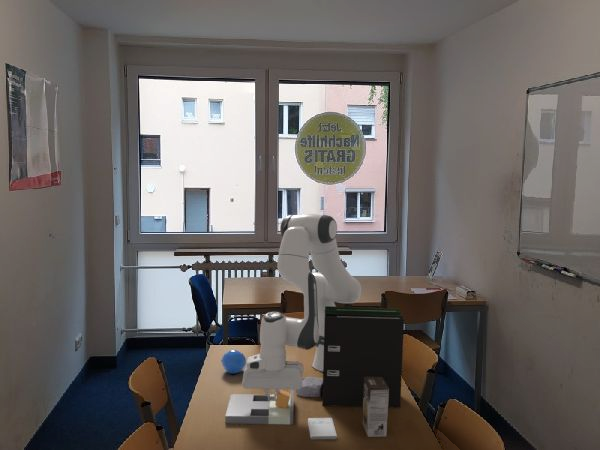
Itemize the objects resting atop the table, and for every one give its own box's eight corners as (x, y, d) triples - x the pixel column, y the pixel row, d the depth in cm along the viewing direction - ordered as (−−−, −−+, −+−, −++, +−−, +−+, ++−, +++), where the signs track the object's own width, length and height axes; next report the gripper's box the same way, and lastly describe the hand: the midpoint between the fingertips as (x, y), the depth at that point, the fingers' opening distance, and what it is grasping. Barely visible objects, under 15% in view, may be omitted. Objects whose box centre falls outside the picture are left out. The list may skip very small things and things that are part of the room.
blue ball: (247, 366, 233) (247, 344, 231) (245, 378, 221) (245, 354, 219) (223, 366, 232) (223, 344, 231) (219, 377, 220) (219, 354, 219)
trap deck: (293, 401, 200) (293, 389, 199) (293, 424, 183) (293, 411, 182) (231, 400, 200) (231, 388, 199) (225, 423, 183) (225, 410, 182)
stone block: (295, 401, 205) (321, 398, 203) (292, 388, 205) (319, 385, 203) (300, 389, 217) (326, 386, 215) (298, 377, 217) (323, 374, 215)
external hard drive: (310, 441, 174) (307, 422, 186) (337, 440, 174) (332, 421, 186) (310, 436, 173) (307, 417, 186) (337, 435, 174) (332, 417, 186)
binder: (395, 392, 210) (399, 308, 206) (400, 409, 195) (404, 320, 192) (322, 389, 211) (324, 306, 208) (322, 406, 197) (324, 317, 193)
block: (287, 403, 193) (290, 392, 192) (286, 408, 189) (289, 397, 188) (275, 400, 193) (278, 389, 192) (275, 405, 189) (278, 394, 188)
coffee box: (361, 423, 185) (363, 376, 183) (380, 423, 185) (382, 376, 183) (367, 437, 176) (368, 387, 174) (387, 436, 176) (389, 387, 174)
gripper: (303, 358, 192) (302, 397, 194) (243, 357, 192) (243, 396, 194) (303, 365, 186) (302, 405, 188) (241, 363, 186) (241, 403, 188)
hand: (272, 400), depth 191 cm, fingers closed
